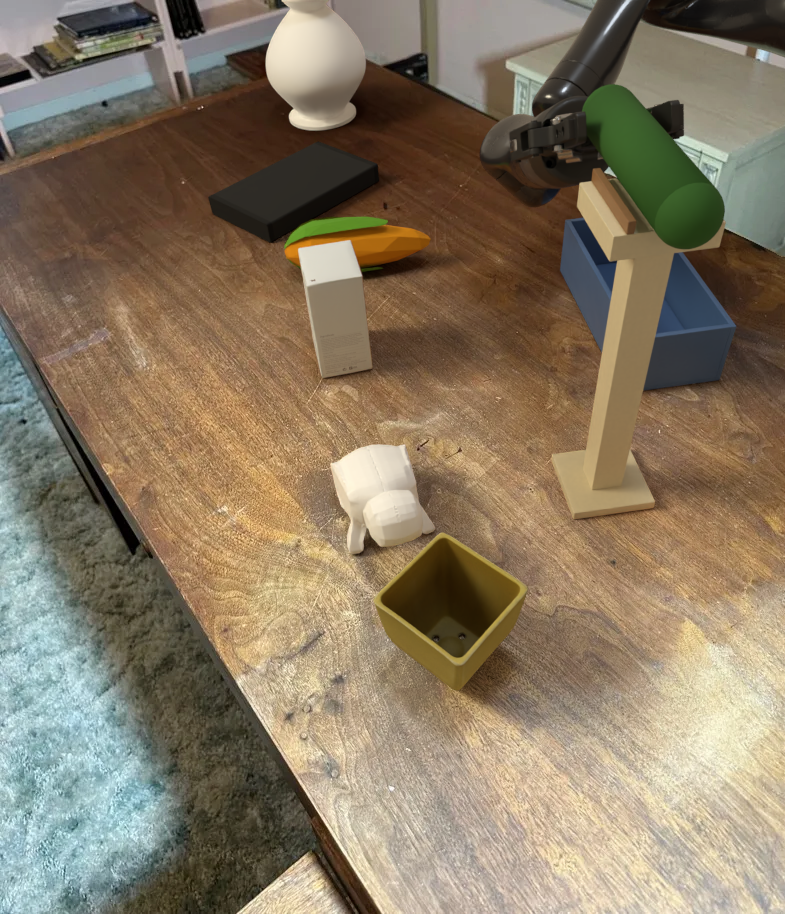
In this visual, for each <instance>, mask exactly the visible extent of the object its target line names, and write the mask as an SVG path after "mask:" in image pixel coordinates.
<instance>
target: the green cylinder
mask: <svg viewBox="0 0 785 914" xmlns="http://www.w3.org/2000/svg"><path fill="white" fill-rule="evenodd" d="M582 111H585V113H586V124H587V136H588V138H589V139H590V140H591V142H592V143H593V145H594V146H595V147H596V149H597V150H598V152H599V153H600V155H601V156H602V157H603V159H604V160H605V162H606V163H607V164H608V166H609V167H608V168H609V169H610V171H611V172H612V173H613V175H614V176H615V178H617V179H618V180H619V181H620V183H621V184H622V186H623V187H624V189H625V190H626V191H627V193H628V194H629V196H630V197H631V198H632V200H633V201H634V203H635V204H636V206H637V207H638V208H639V210H640V211H641V213H642V214H643V215H644V217H645V218H646V220H647V221H648V223H649V224H650V225H651V227H652V228H653V230H654V231H655V232H656V234H657V235H658V237H659V238H660V239H661V240H662V241H663V242H664V243H666V244H667V245H669V246H671V247H674V248H677V249H693V248H696V247H699V246H702V245H703V244H705V243H707V242H708V241H710V240H711V239H712V238H713V237H714V236H715V235H716V233H717V232H718V231H719V229H720V227H721V226H722V223H723V220H725V213H726V205H725V202H724V198H723V196H722V194H721V193H720V191H719V189H717V187H716V186H715V185H714V184H713V183H712V182H711V180H710V179H709V178H708V177H707V176H706V175H705V173H704V172H703V171H702V170H701V169H700V168H699V167H698V165H696V164H695V162H694V161H693V160H692V159H691V158H690V156H689V155H688V154H687V153H686V152H685V151H684V150H683V149H682V148H681V146H680V145H679V144H678V143H677V142H676V141H675V139H672V137H671V136H670V135H669V134H668V133H667V132H666V131H665V130H664V128H663V127H662V126H661V125H660V124H659V123H658V122H657V120H656V119H655V118H654V117H653V116H652V115H651V114H650V113H649V111H648V110H647V109H646V106H645V105H644V104H643V103H642V102H641V101H640V100H639V98H637V97H636V95H635V94H634V93H633V92H632V91H631V90H630V89H628V88H627V87H625V86H624V85H622V84H617V83H615V84H609V85H605V86H602V87H600V88H598V89H597V90H595V91H594V92H593V93H592V94H591V95H590V96H589V97H588V98H587V100H586V102H585V104H584V106H583V109H582Z"/></svg>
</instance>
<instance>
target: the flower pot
mask: <svg viewBox="0 0 785 914" xmlns="http://www.w3.org/2000/svg"><path fill="white" fill-rule="evenodd" d="M528 591H529V587H528V586H527V585H526V584H525V583H524V582H523V581H522V580H520V579H518V578H517V577H516V576H514V575H512V574H510V573H509V572H507V571H506V570H505V569H503V568H501V567H499V566H498V565H496V564H495V563H493V562H492V561H491V560H489V559H487V558H486V557H484V556H482V555H481V554H479V553H478V552H476V551H475V550H473V549H472V548H470V547H469V546H467V545H466V544H465V543H463V542H461V541H460V540H459V539H457V538H455V537H453V536H452V535H450V534H448V533H445V532H443V531H442V532H440V533H438V534H437V535H436V536H435V537H433V538H432V539H431V540H430V542H428V543H427V544H426V545H425V547H423V549H421V550H420V551H419V552H418V553H417V554H416V555H415V556H414V557H413V559H412V560H411V561H409V563H407V564H406V565H405V566H404V567H403V568H402V570H400V571H399V572H398V573H397V574H396V575H395V576H394V577H393V578H392V579H391V580H389V582H387V583H386V584H385V585H384V586H383V588H381V589H380V591H379V592H378V593H376V595H375V596H374V598H373V603H374V607H375V610H376V612H377V615H378V617H379V621H380V623H381V625H382V628H383V630H384V632H385V634H386V636H387V637H388V638H389V640H390V641H391V642H392V643H393V644H394V646H396V647H397V648H398V649H400V650H401V651H402V652H403V653H404V654H406V655H408V657H410V658H411V659H412V660H414V661H415V662H416V663H418V665H421V666H422V667H423V668H424V669H425V670H427V671H428V672H429V673H431V674H432V675H433V676H434V677H436V678H437V680H439V681H441V682H442V683H443V684H445V685H446V686H447V687H449V688H450V689H451V690H453V691H456V692H457V691H460V690H461V689H463V688H464V687H465V685H466V684H467V683H468V682H469V680H470V679H471V678H472V677H473V676H474V675H475V674H476V672H477V671H478V670H479V669H480V667H482V665H483V664H484V663H485V662H486V661H487V660H488V658H489V657H490V656H491V655H492V654H493V653H494V652H495V651H496V649H497V648H498V647H499V646H500V645H501V643H503V641H505V640H506V638H507V637H508V636H509V635H510V634H511V632H512V630H513V629H514V627H515V626H516V624H517V623H518V619H519V617H520V614H521V611H522V608H523V606H524V603H525V600H526V597H527V594H528ZM461 635H464V637H465V638H464V639H463V638H462V639H461V638H460V636H461ZM435 637H437V638H438V640H437V641H435V640H434V638H435Z"/></svg>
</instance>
